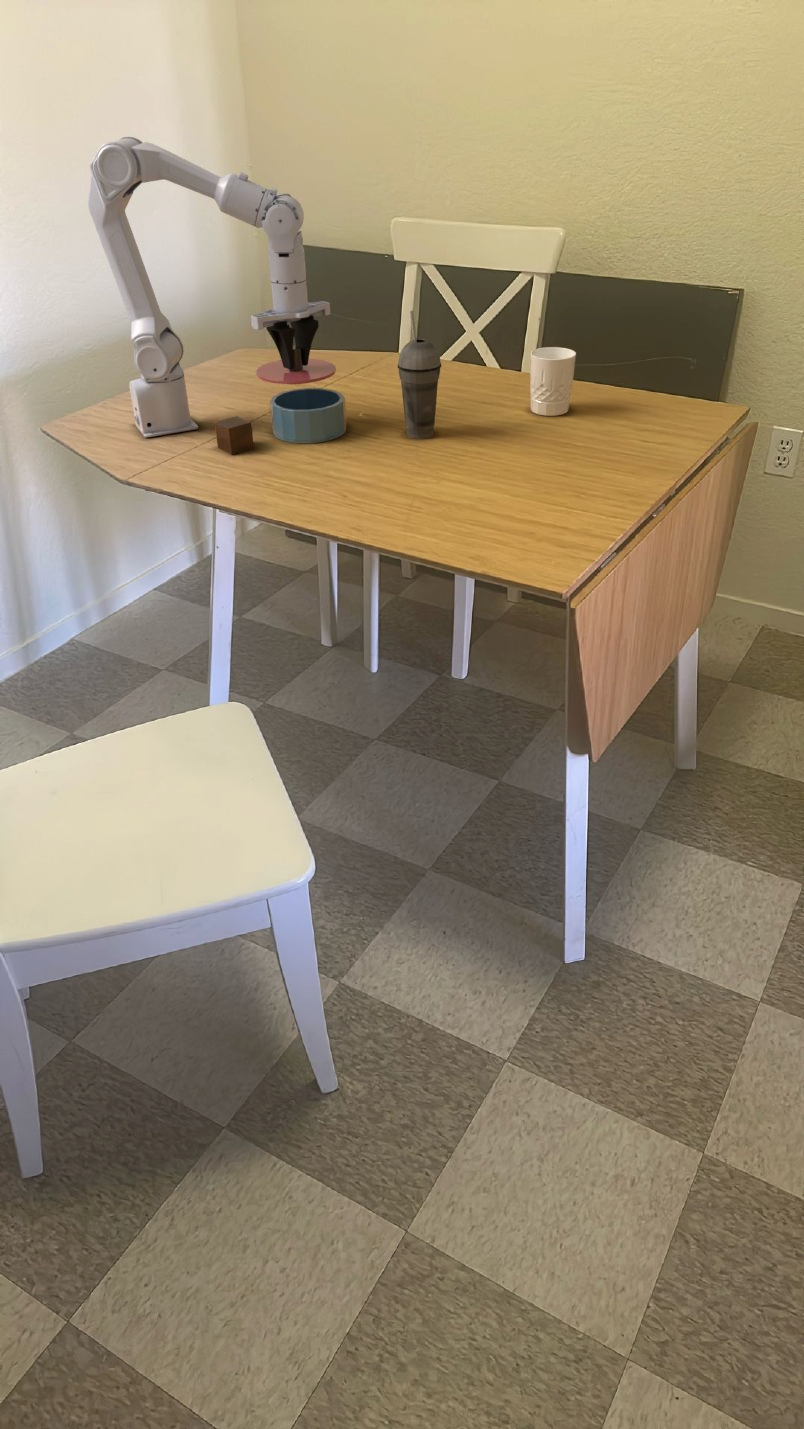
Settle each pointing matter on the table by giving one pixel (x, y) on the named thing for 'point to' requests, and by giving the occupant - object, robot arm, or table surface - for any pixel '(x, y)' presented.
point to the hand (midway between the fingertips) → (295, 366)
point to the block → (234, 435)
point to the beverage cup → (419, 385)
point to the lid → (296, 370)
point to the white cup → (551, 380)
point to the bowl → (308, 415)
